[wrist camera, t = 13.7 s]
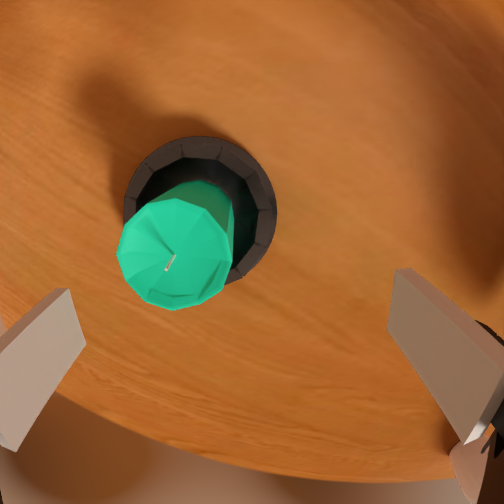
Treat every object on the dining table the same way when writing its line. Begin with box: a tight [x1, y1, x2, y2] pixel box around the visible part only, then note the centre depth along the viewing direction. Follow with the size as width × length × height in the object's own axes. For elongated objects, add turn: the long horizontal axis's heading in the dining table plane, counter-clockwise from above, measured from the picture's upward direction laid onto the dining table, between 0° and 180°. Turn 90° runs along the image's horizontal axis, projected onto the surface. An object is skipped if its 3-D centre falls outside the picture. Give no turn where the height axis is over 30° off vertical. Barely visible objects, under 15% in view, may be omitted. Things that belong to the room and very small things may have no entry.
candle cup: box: [124, 136, 277, 285], centre depth 24 cm, size 13×13×3 cm
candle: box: [116, 179, 234, 311], centre depth 19 cm, size 6×6×12 cm
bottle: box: [449, 434, 489, 504], centre depth 31 cm, size 11×11×25 cm
